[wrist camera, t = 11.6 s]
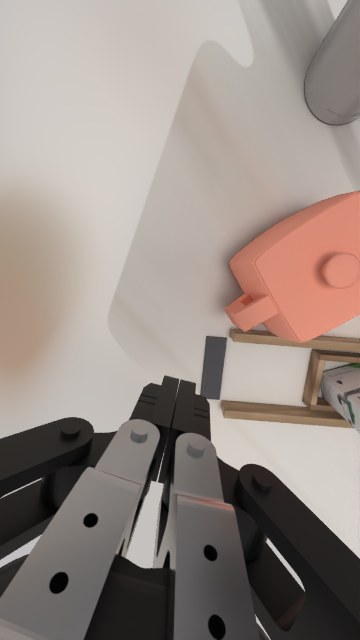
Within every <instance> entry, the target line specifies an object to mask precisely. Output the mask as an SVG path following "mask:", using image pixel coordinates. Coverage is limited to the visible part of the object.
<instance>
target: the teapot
mask: <svg viewBox="0 0 360 640" xmlns="http://www.w3.org/2000/svg"><path fill="white" fill-rule="evenodd" d="M229 265H230V268H231V270H232V272H233V274H234V276H235V278H236V280H237V281H238V283H239V285H240V287H241V289H242V290H243V292H244V294H243V295H241V296H240V297H239V298H237V299H236V300H235V301H233V302H232V303H231V304H230V305H228V306H227V307H226V308H224V310H225V311H226V313H227V315H228V316H229V318H230V320H231V321H232V323H233V324H234V325H236V326H237V327H239V328H240V329H242V330H243V331H244V332H246V331H248V330H249V329H251V328H253V327H255V326H257V325H258V324H260V323H263V324H264V325H265V327H266V328H267V329H268V330H269V331H270V332H271V333H273V334H275V335H276V336H279V337H281V338H284V339H287V340H291V341H295V342H299V343H302V342H306V341H309V340H311V339H313V338H316V337H318V336H320V335H322V334H324V333H326V332H328V331H330V330H331V329H333V328H335V327H337V326H339V325H341V324H343V323H345V322H346V321H348V320H350V319H352V318H354V317H355V316H357V315H359V314H360V191H356V192H351V193H346V194H341V195H337V196H334V197H331V198H328V199H325V200H322V201H320V202H317V203H315V204H313V205H311V206H309V207H307V208H305V209H303V210H301V211H299V212H297V213H295V214H293V215H291V216H289V217H288V218H286V219H284V220H282V221H281V222H279V223H277V224H276V225H274V226H273V227H271V228H270V229H268V230H267V231H265V232H264V233H262V234H261V235H260V236H258V237H257V238H256V239H254V240H253V241H252V242H250V243H249V244H248V245H247V246H245V247H244V248H243V249H241V250H240V251H239V252H238V253H237V254H236V255H235V256H234V257H233V258H232V259H231V260H230V262H229Z"/></svg>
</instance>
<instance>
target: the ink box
mask: <svg viewBox="0 0 360 640" xmlns="http://www.w3.org/2000/svg"><path fill="white" fill-rule="evenodd" d="M321 388H322V392H323V396H324V399H325V400H326V401H327V402H328V403H329V404H330V405H331V406H332V407H333V408H334V409H335V410H336V411H337V412H339V413H340V414H341V415H342V416H343V417H344V418H345V419H346V420H347V421H348V422H349V423H350V424H351V425H352V426H353V427H354V428H355V429H356V430H357V431H358V432H359V433H360V363H356V364H352V365H348V366H345V367H341V368H337V369H333V370H330V371H326V372H323V374H322V379H321Z"/></svg>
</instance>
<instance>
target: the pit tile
mask: <svg viewBox="0 0 360 640" xmlns="http://www.w3.org/2000/svg"><path fill="white" fill-rule="evenodd" d="M226 341H227V338H222V337H210V336H207V337H206V347H205V356H204V366H203V376H202V385H201V396H205V398H206V399H217V400H219V399H220V390H221V382H222V374H223V366H224V357H225V349H226Z"/></svg>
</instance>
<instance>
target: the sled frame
mask: <svg viewBox="0 0 360 640" xmlns="http://www.w3.org/2000/svg"><path fill="white" fill-rule="evenodd" d="M325 360H326V361H338V362H350V363H360V353H351V352H339V351H326V350H314V349H312V352H311V357H310V363H309V368H308V373H307V379H306V384H305V389H304V394H303V400H302V401H303V402H304V404H305V405H306V406H307V407H308V408H309V409H310V410H323V411H335V412H337V411H336V410H335V409H334V408H333V407H332V406H331V405H330V404H329V403H328V402H327V401H326V400H325V399H324V398H318V393H319V388H320V384H321V379H322V374H323V369H324V364H325Z"/></svg>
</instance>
